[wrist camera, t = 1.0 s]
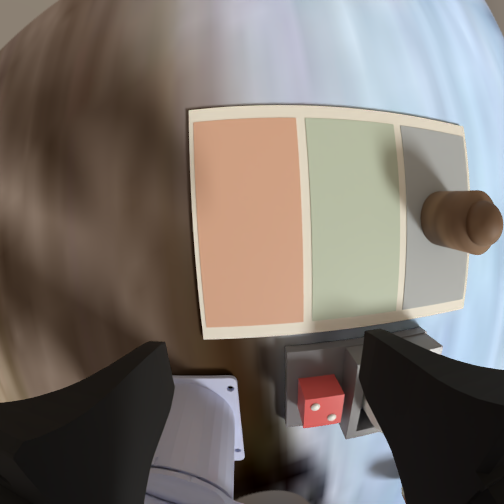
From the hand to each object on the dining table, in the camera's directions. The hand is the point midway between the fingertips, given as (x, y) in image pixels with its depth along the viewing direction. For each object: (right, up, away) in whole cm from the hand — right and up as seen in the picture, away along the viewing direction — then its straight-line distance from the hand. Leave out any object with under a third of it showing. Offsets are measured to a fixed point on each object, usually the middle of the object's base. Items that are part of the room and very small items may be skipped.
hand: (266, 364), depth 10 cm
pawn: (+13, +6, +9) cm, 17 cm away
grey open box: (+7, -6, +11) cm, 14 cm away
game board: (+6, +6, +9) cm, 12 cm away
